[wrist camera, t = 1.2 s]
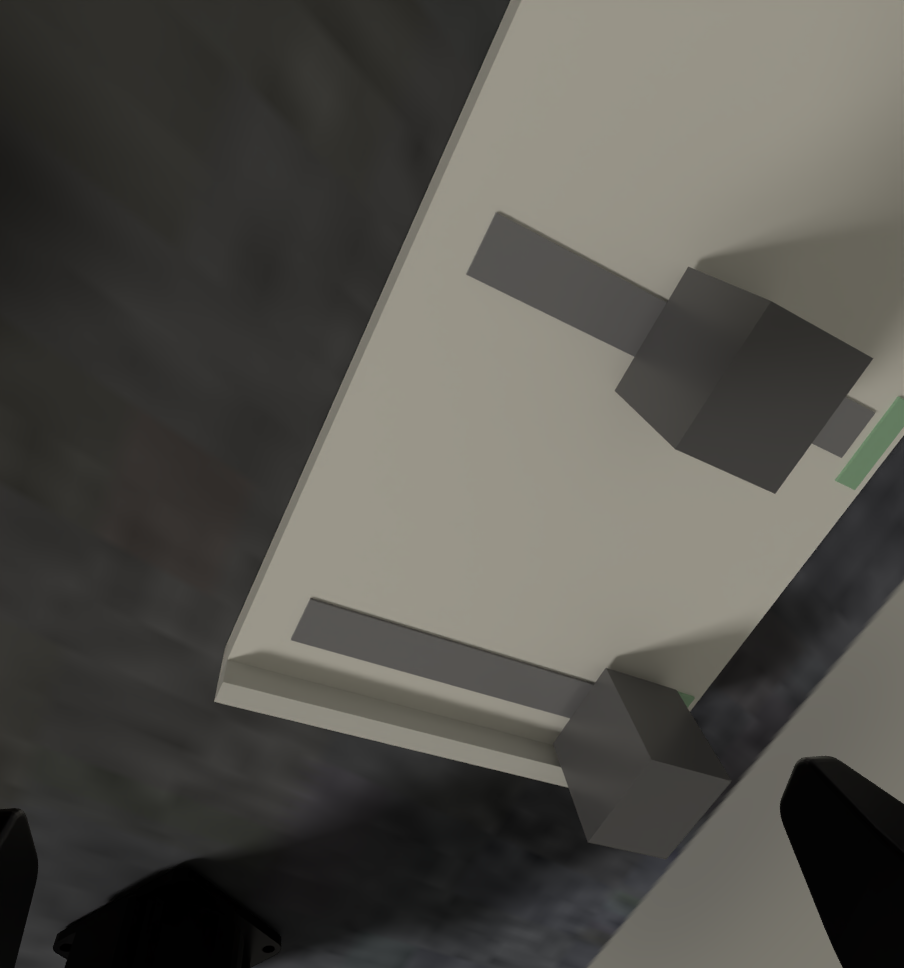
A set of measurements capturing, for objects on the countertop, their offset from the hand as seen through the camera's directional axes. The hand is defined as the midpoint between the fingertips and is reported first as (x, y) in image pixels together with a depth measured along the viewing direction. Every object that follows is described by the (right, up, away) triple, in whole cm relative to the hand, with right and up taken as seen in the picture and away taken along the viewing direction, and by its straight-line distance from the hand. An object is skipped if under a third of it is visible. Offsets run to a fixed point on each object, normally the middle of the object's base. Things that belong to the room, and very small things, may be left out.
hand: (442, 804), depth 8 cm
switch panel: (+6, +8, +13) cm, 16 cm away
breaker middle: (+7, +7, +11) cm, 15 cm away
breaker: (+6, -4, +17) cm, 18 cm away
